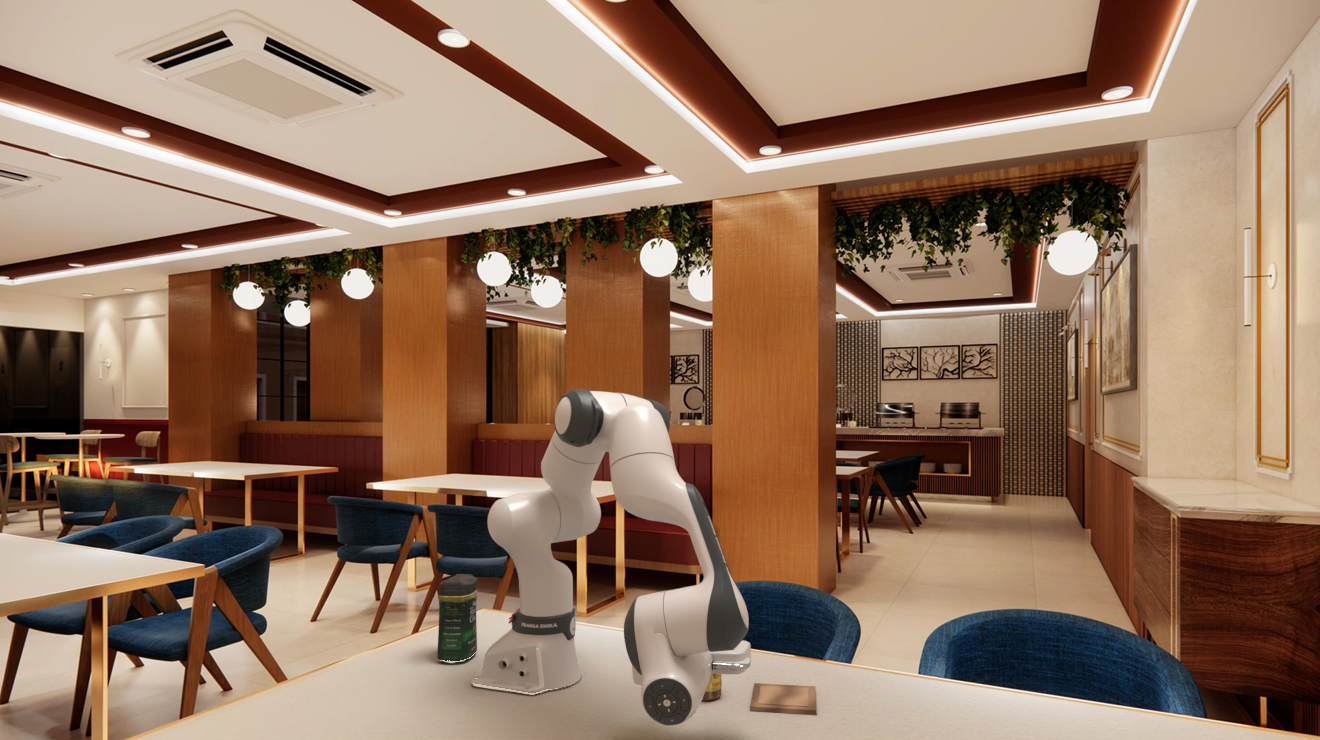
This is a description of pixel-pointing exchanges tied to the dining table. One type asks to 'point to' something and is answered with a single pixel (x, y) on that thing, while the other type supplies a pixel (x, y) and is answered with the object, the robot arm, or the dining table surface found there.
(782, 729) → the dining table surface
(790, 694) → the trivet
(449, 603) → the coffee jar
